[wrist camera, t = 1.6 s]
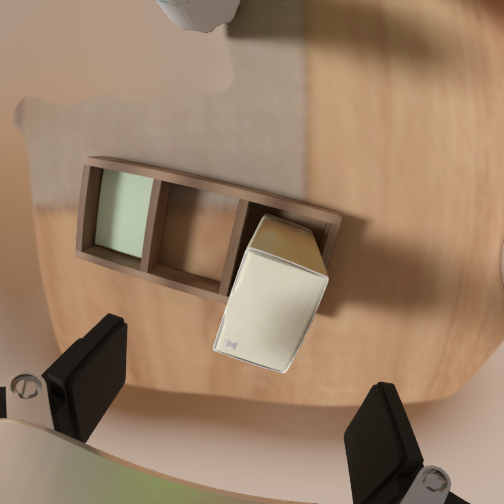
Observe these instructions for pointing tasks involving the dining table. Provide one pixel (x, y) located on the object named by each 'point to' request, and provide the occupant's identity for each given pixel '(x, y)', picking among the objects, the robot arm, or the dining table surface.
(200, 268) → the dining table surface
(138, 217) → the mat
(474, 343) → the dining table surface
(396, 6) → the dining table surface
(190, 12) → the bottle
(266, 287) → the skincare box
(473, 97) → the dining table surface
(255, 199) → the notch rack
